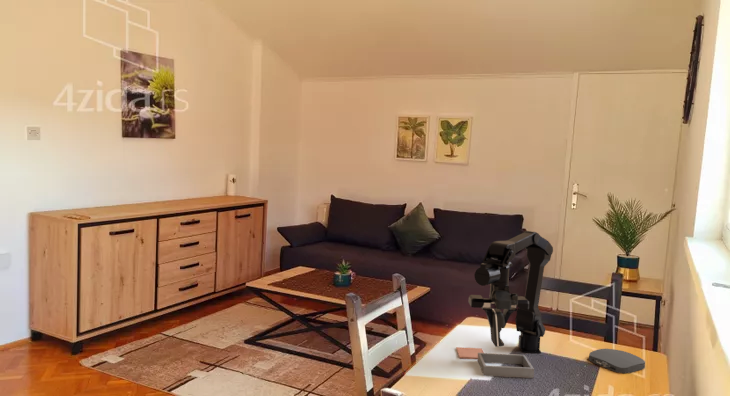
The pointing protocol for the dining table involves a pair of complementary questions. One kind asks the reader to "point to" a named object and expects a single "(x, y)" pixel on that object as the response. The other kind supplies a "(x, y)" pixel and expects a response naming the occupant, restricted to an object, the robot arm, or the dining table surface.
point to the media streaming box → (617, 360)
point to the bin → (505, 370)
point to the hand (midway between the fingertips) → (497, 327)
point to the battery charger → (497, 327)
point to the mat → (468, 352)
